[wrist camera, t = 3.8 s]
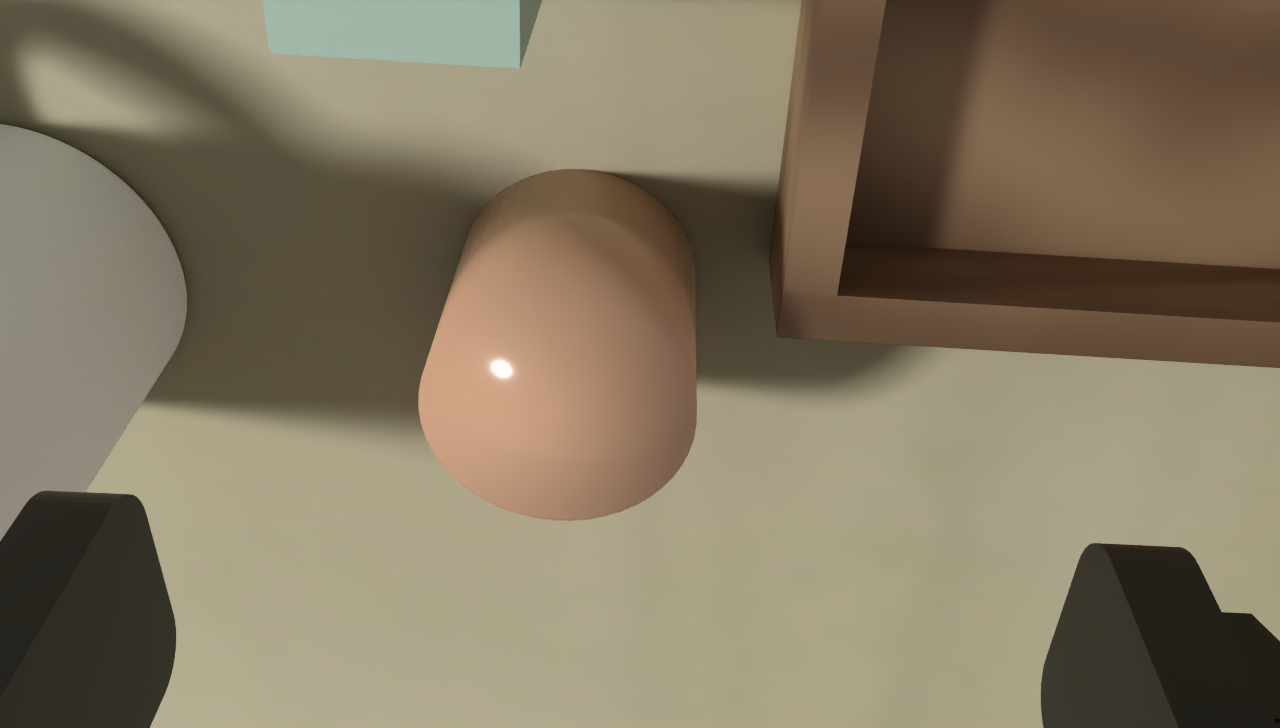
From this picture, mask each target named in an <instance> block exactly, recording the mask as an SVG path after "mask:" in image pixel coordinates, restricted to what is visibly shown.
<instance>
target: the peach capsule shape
mask: <svg viewBox="0 0 1280 728" xmlns="http://www.w3.org/2000/svg"><path fill="white" fill-rule="evenodd" d="M418 408H419V415H420V422H421V425H422V428H423V431H424V435H425V437H426V439H427V441H428V443H429V446H430V448H431V450H432V451H433V453H434V454H435V456H436V457H437V459H438V460H439V462H440V463H441V464H442V465H443V466H444V468H445V469H446V470H447V471H448V472H449V473H450V475H452V476H453V477H454V478H455V479H456V480H457V481H458V482H459V483H460V484H461V485H463V486H464V487H465V488H467V489H468V490H470V491H471V492H472V493H474V494H475V495H477V496H479V497H480V498H482V499H484V500H486V501H488V502H489V503H491V504H494V505H496V506H498V507H501V508H503V509H505V510H508V511H511V512H514V513H518V514H521V515H525V516H530V517H534V518H540V519H548V520H569V521H573V520H585V519H592V518H598V517H603V516H607V515H611V514H614V513H617V512H621V511H623V510H625V509H628V508H630V507H632V506H635V505H637V504H639V503H640V502H642V501H644V500H646V499H647V498H649V497H651V496H652V495H653V494H654V493H656V492H657V491H658V490H660V489H661V488H662V487H663V486H664V485H665V484H666V483H667V482H668V481H669V480H670V479H671V478H672V477H673V476H674V475H675V474H676V472H677V471H678V470H679V468H680V467H681V466H682V464H683V462H684V460H685V459H686V457H687V455H688V453H689V451H690V448H691V445H692V442H693V439H694V434H695V429H696V414H697V398H696V269H695V262H694V256H693V252H692V249H691V245H690V243H689V240H688V238H687V236H686V234H685V232H684V230H683V228H682V227H681V225H680V224H679V222H678V221H677V219H676V218H675V217H674V215H673V214H672V213H671V212H670V211H669V210H668V208H667V207H666V206H665V205H663V204H662V203H661V202H660V201H659V200H658V199H657V198H656V197H654V196H653V195H652V194H650V193H649V192H647V191H646V190H644V189H643V188H641V187H639V186H637V185H635V184H633V183H632V182H630V181H627V180H625V179H622V178H620V177H617V176H614V175H611V174H607V173H603V172H599V171H591V170H583V169H564V170H555V171H548V172H544V173H540V174H536V175H533V176H530V177H528V178H525V179H523V180H520V181H518V182H516V183H514V184H513V185H511V186H509V187H507V188H506V189H504V190H503V191H502V192H500V193H499V194H498V195H496V196H495V197H494V198H493V199H492V200H491V201H490V202H489V203H488V204H487V205H486V206H485V207H484V208H483V209H482V211H481V212H480V213H479V215H478V216H477V217H476V219H475V221H474V223H473V225H472V227H471V228H470V231H469V233H468V236H467V239H466V242H465V245H464V248H463V251H462V254H461V257H460V260H459V263H458V266H457V269H456V272H455V275H454V278H453V281H452V285H451V288H450V291H449V294H448V297H447V300H446V303H445V306H444V309H443V312H442V315H441V318H440V321H439V325H438V328H437V331H436V334H435V337H434V340H433V343H432V346H431V349H430V352H429V355H428V358H427V361H426V365H425V368H424V371H423V374H422V377H421V382H420V387H419V397H418Z"/></svg>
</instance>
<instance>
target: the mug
mask: <svg viewBox="0 0 1280 728" xmlns="http://www.w3.org/2000/svg"><path fill="white" fill-rule="evenodd" d="M186 314H187V293H186V284H185V279H184V274H183V271H182V267H181V264H180V261H179V258H178V256H177V253H176V251H175V248H174V246H173V244H172V242H171V240H170V238H169V236H168V235H167V233H166V231H165V230H164V228H163V226H162V225H161V223H160V222H159V220H158V219H157V218H156V216H155V215H154V213H153V212H152V211H151V210H150V208H149V207H148V206H147V205H146V204H145V202H144V201H143V200H142V199H141V198H140V197H139V196H138V195H137V194H136V193H135V192H134V191H133V190H132V189H131V188H130V187H129V186H128V185H127V184H126V183H125V182H124V181H122V180H121V179H120V178H119V177H118V176H117V175H115V174H114V173H113V172H111V171H110V170H109V169H108V168H106V167H105V166H103V165H102V164H100V163H99V162H97V161H96V160H94V159H93V158H91V157H90V156H88V155H86V154H85V153H83V152H81V151H79V150H78V149H76V148H74V147H72V146H70V145H67V144H65V143H63V142H61V141H59V140H56V139H54V138H51V137H49V136H46V135H43V134H40V133H37V132H34V131H31V130H27V129H23V128H19V127H15V126H9V125H3V124H0V541H1V540H2V538H3V537H4V535H5V534H6V532H7V531H8V529H9V528H10V526H11V525H12V523H13V522H14V520H15V519H16V517H17V516H18V514H19V513H20V511H21V510H22V508H23V507H24V506H25V504H26V503H27V502H28V501H29V499H30V498H32V497H33V496H34V495H35V494H37V493H39V492H41V491H67V492H86V490H87V489H88V487H89V486H90V484H91V482H92V481H93V479H94V478H95V476H96V475H97V473H98V471H99V470H100V468H101V467H102V465H103V464H104V462H105V460H106V459H107V457H108V456H109V454H110V453H111V451H112V449H113V448H114V446H115V445H116V443H117V442H118V440H119V438H120V437H121V435H122V434H123V432H124V431H125V429H126V427H127V426H128V424H129V423H130V421H131V420H132V418H133V416H134V415H135V413H136V412H137V410H138V409H139V407H140V405H141V404H142V402H143V401H144V399H145V398H146V396H147V394H148V393H149V391H150V390H151V388H152V387H153V385H154V383H155V382H156V380H157V379H158V377H159V376H160V374H161V372H162V371H163V369H164V368H165V366H166V365H167V363H168V361H169V360H170V358H171V357H172V355H173V353H174V352H175V350H176V348H177V346H178V344H179V341H180V339H181V336H182V334H183V330H184V326H185V321H186Z"/></svg>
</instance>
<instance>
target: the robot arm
mask: <svg viewBox="0 0 1280 728" xmlns="http://www.w3.org/2000/svg"><path fill="white" fill-rule="evenodd" d="M175 649H176V627H175V619H174V614H173V611H172V607H171V603H170V600H169V596H168V592H167V589H166V585H165V581H164V578H163V574H162V570H161V566H160V563H159V559H158V555H157V552H156V548H155V544H154V541H153V537H152V533H151V530H150V526H149V522H148V519H147V515H146V512H145V509H144V507H143V505H142V503H141V501H140V500H139V499H138V498H137V497H135V496H134V495H129V494H109V493H88V492H67V491H41V492H39V493H37V494H35V495H34V496H33V497H32V498H30V499H29V501H28V502H27V503H26V504H25V506H24V507H23V508H22V510H21V511H20V513H19V514H18V516H17V517H16V519H15V520H14V522H13V523H12V525H11V526H10V528H9V529H8V531H7V532H6V534H5V535H4V537H3V538H2V540H1V541H0V728H150V726H151V723H152V721H153V719H154V717H155V714H156V712H157V710H158V708H159V706H160V703H161V701H162V699H163V697H164V694H165V692H166V689H167V687H168V684H169V680H170V677H171V673H172V669H173V664H174V658H175ZM1041 711H1042V720H1043V727H1044V728H1280V641H1279V640H1278V639H1277V638H1276V637H1275V636H1274V635H1273V634H1272V633H1271V632H1269V631H1268V630H1267V629H1266V628H1265V627H1264V626H1263V625H1262V624H1261V623H1260V622H1259V621H1258V620H1257V619H1256V618H1255V617H1254V616H1253V615H1252V614H1246V613H1225V612H1221V610H1220V608H1219V606H1218V604H1217V602H1216V600H1215V598H1214V596H1213V594H1212V592H1211V590H1210V588H1209V585H1208V583H1207V581H1206V579H1205V577H1204V575H1203V573H1202V571H1201V569H1200V567H1199V565H1198V563H1197V562H1196V560H1195V558H1194V557H1193V556H1192V554H1191V553H1190V552H1188V551H1187V550H1186V549H1184V548H1181V547H1163V546H1142V545H1120V544H1099V543H1093V544H1090V545H1088V546H1087V547H1086V548H1085V550H1084V551H1083V553H1082V555H1081V557H1080V559H1079V562H1078V565H1077V568H1076V571H1075V574H1074V577H1073V580H1072V583H1071V586H1070V589H1069V592H1068V595H1067V598H1066V601H1065V604H1064V606H1063V609H1062V612H1061V615H1060V618H1059V621H1058V624H1057V627H1056V630H1055V633H1054V636H1053V639H1052V642H1051V645H1050V648H1049V651H1048V654H1047V657H1046V660H1045V664H1044V668H1043V674H1042V682H1041Z"/></svg>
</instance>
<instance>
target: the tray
mask: <svg viewBox="0 0 1280 728" xmlns="http://www.w3.org/2000/svg"><path fill="white" fill-rule="evenodd" d="M769 266H770V275H771V285H772V294H773V304H774V313H775V322H776V332H777V337H781V338H797V339H814V340H830V341H846V342H863V343H879V344H896V345H912V346H928V347H945V348H961V349H978V350H994V351H1010V352H1027V353H1043V354H1060V355H1076V356H1092V357H1109V358H1125V359H1142V360H1158V361H1174V362H1191V363H1207V364H1224V365H1240V366H1256V367H1273V368H1280V0H802V5H801V13H800V20H799V28H798V36H797V44H796V52H795V60H794V68H793V76H792V84H791V92H790V100H789V107H788V115H787V123H786V131H785V139H784V147H783V155H782V163H781V171H780V179H779V186H778V194H777V202H776V210H775V218H774V226H773V234H772V242H771V250H770V258H769Z"/></svg>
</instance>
